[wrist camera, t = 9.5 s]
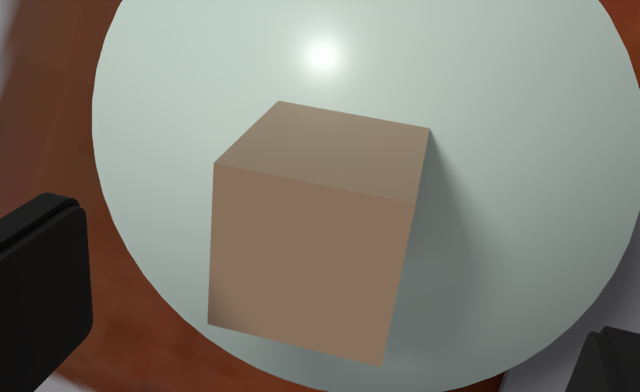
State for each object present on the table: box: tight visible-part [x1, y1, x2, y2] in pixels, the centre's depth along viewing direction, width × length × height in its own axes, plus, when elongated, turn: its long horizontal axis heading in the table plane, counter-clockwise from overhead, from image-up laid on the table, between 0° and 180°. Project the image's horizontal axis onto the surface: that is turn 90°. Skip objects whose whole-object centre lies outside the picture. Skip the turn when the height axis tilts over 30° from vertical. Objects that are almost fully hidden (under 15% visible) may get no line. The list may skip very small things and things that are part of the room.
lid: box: [92, 0, 640, 392], centre depth 15 cm, size 15×15×6 cm
